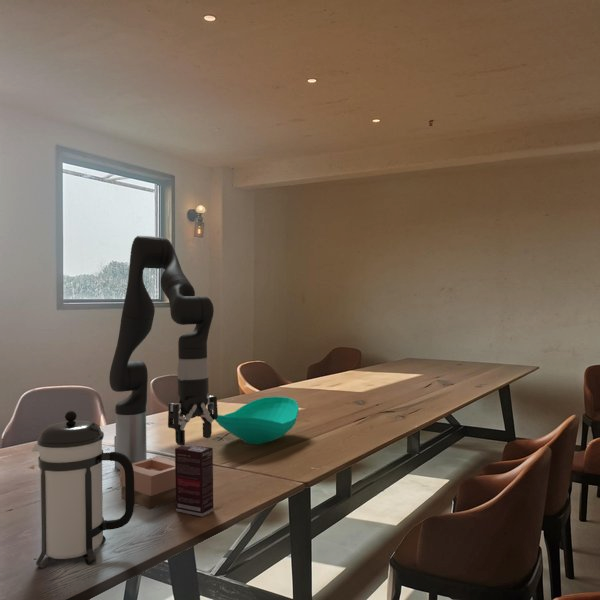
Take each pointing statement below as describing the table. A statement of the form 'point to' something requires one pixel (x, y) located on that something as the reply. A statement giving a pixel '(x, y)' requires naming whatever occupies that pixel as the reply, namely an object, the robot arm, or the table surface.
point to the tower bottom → (152, 498)
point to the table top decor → (261, 419)
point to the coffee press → (75, 490)
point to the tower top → (152, 475)
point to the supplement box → (194, 479)
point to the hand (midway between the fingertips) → (194, 441)
